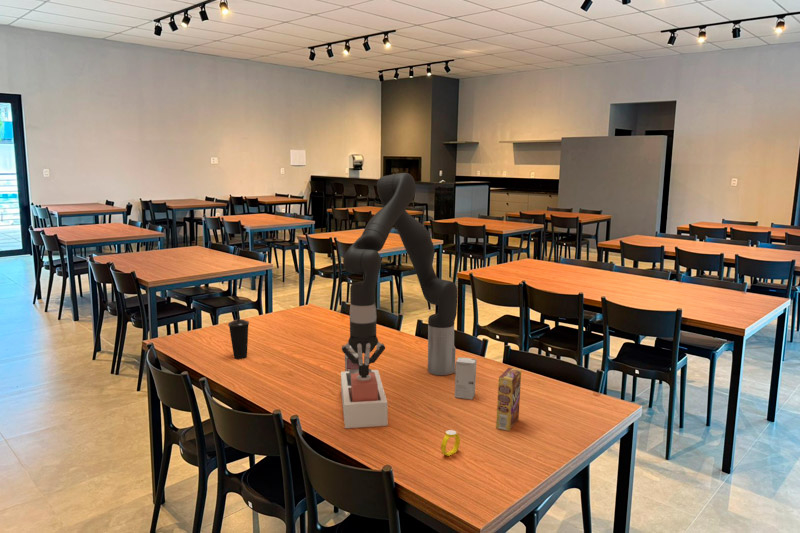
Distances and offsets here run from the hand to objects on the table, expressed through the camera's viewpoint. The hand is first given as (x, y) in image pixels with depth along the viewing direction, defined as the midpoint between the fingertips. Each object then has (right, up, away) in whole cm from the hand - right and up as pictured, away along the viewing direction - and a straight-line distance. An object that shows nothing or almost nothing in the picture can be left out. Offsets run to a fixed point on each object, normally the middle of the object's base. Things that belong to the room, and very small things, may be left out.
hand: (363, 376), depth 164 cm
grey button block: (-2, -9, +14) cm, 16 cm away
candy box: (+41, -13, -3) cm, 43 cm away
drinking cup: (-51, -3, +54) cm, 74 cm away
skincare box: (+31, -10, +17) cm, 37 cm away
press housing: (-1, -11, +8) cm, 14 cm away
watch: (+23, -16, -19) cm, 34 cm away
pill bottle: (-6, -7, +34) cm, 35 cm away
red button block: (0, -8, +1) cm, 8 cm away
